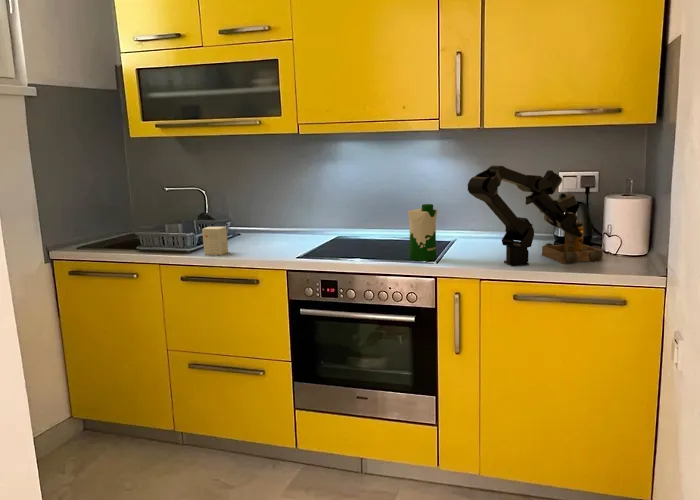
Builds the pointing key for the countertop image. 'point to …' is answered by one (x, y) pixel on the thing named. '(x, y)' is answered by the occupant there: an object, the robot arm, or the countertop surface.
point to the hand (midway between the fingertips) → (576, 234)
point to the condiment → (574, 240)
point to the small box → (215, 240)
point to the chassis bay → (571, 253)
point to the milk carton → (423, 233)
